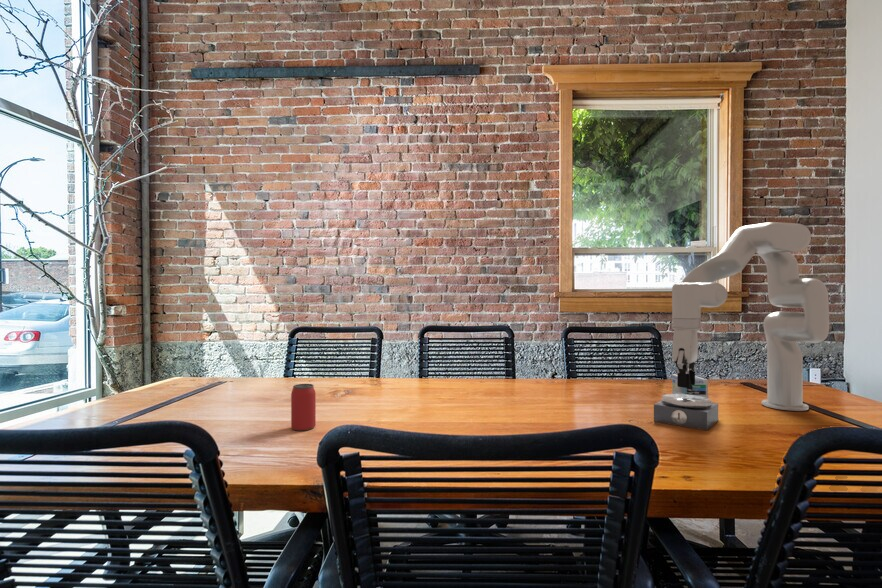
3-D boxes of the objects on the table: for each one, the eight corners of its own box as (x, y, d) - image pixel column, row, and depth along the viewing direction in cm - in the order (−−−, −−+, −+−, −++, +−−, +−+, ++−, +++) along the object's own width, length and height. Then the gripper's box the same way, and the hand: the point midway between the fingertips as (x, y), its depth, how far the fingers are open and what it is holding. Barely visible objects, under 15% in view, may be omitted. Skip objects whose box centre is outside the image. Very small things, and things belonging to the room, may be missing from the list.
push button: (700, 395, 135) (700, 361, 135) (680, 395, 136) (680, 360, 136) (691, 391, 142) (691, 358, 142) (672, 390, 143) (672, 357, 143)
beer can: (320, 427, 133) (320, 385, 133) (299, 433, 128) (298, 388, 128) (307, 423, 137) (307, 382, 137) (286, 428, 132) (286, 385, 132)
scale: (667, 412, 149) (668, 396, 149) (718, 420, 140) (718, 403, 140) (653, 421, 138) (653, 404, 138) (706, 430, 129) (706, 412, 129)
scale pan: (669, 395, 149) (669, 392, 149) (715, 402, 140) (715, 398, 140) (656, 403, 139) (656, 398, 139) (705, 410, 130) (705, 405, 130)
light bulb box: (708, 413, 148) (708, 379, 148) (687, 413, 148) (687, 379, 148) (691, 405, 159) (691, 373, 159) (671, 405, 159) (671, 373, 159)
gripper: (680, 322, 148) (680, 380, 148) (663, 325, 135) (664, 388, 135) (707, 323, 143) (707, 383, 143) (692, 326, 130) (692, 392, 130)
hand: (686, 385), depth 139 cm, fingers closed on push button, 5 cm apart
